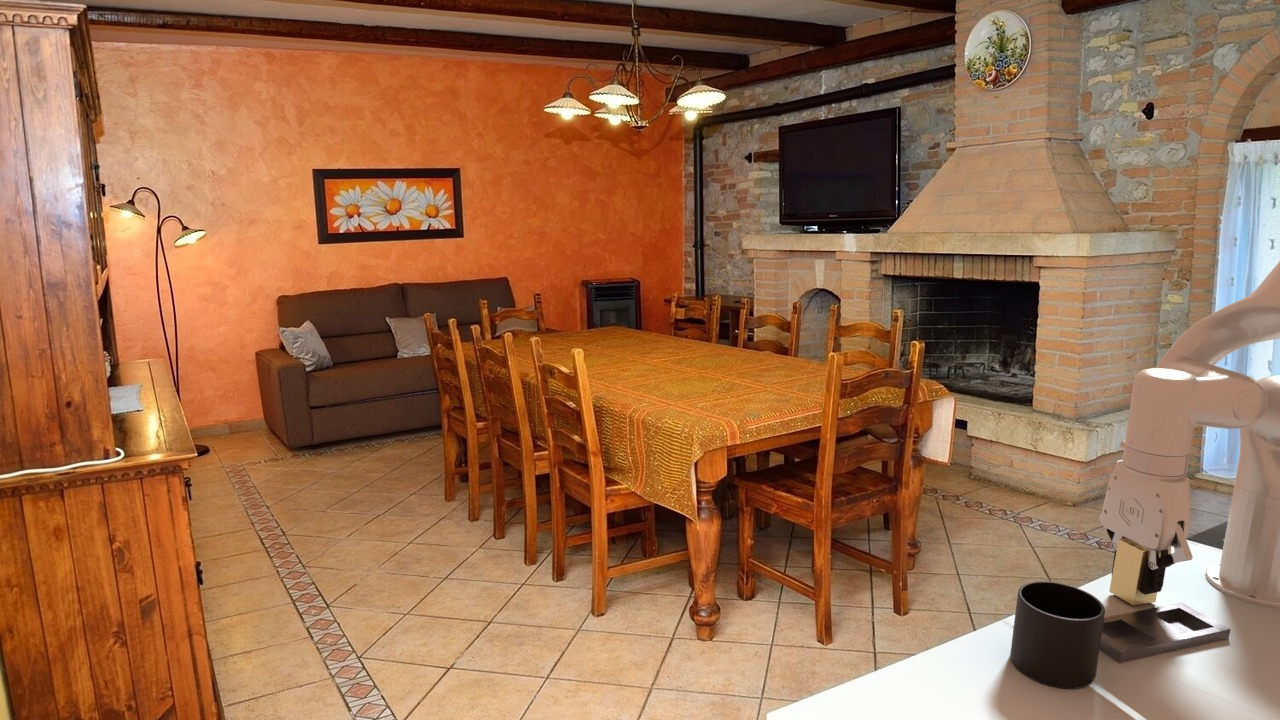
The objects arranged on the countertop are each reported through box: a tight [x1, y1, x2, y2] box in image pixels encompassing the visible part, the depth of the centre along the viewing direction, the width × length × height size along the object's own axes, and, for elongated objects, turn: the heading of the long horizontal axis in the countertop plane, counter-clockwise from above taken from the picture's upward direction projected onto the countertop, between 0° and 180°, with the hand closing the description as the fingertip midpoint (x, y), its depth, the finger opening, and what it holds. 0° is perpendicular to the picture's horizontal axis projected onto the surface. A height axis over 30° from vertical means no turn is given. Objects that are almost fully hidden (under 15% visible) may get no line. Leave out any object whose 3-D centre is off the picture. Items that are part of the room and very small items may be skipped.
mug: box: [1009, 580, 1106, 689], centre depth 102 cm, size 9×12×9 cm
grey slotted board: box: [1099, 602, 1231, 664], centre depth 108 cm, size 18×7×2 cm, turn 108°
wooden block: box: [1109, 538, 1161, 606], centre depth 117 cm, size 4×4×8 cm
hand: (1136, 582), depth 117 cm, fingers closed on wooden block, 4 cm apart
